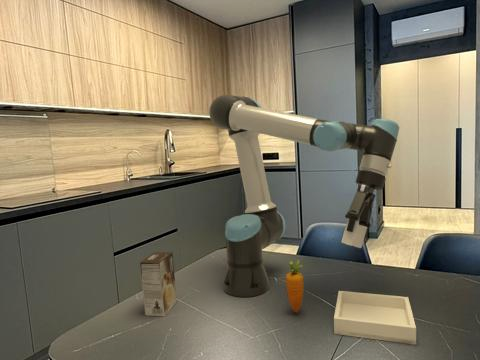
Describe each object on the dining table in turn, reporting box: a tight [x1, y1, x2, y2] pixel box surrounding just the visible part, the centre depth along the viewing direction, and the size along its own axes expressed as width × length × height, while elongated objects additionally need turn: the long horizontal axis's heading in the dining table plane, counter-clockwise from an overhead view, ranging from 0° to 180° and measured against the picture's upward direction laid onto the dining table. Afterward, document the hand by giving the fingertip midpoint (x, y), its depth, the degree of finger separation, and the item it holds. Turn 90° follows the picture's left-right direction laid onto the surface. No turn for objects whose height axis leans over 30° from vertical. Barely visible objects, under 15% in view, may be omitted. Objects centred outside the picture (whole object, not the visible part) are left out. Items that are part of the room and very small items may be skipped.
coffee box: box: [139, 251, 178, 317], centre depth 102 cm, size 9×6×16 cm
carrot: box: [285, 260, 304, 314], centre depth 95 cm, size 5×5×15 cm
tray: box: [333, 290, 417, 346], centre depth 89 cm, size 18×16×4 cm
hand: (351, 245), depth 96 cm, fingers open, 13 cm apart
